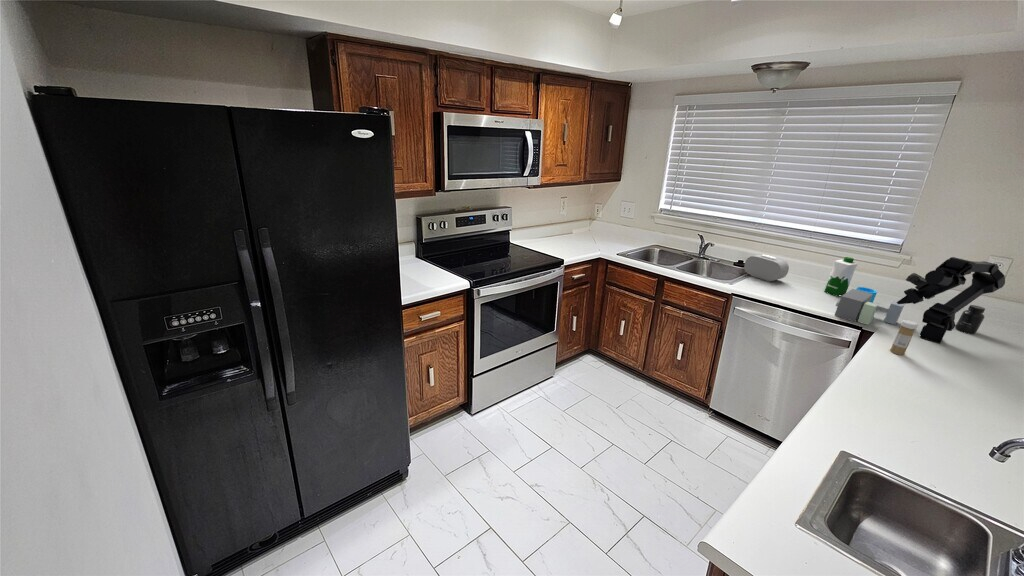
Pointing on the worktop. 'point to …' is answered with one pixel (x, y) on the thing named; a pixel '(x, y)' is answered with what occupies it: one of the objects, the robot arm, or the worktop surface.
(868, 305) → the green key
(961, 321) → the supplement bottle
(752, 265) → the grey rounded oblong block
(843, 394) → the worktop surface
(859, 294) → the grey curved block
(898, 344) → the sprinkles bottle
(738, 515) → the worktop surface
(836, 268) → the milk carton
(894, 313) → the grey key
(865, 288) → the mug
